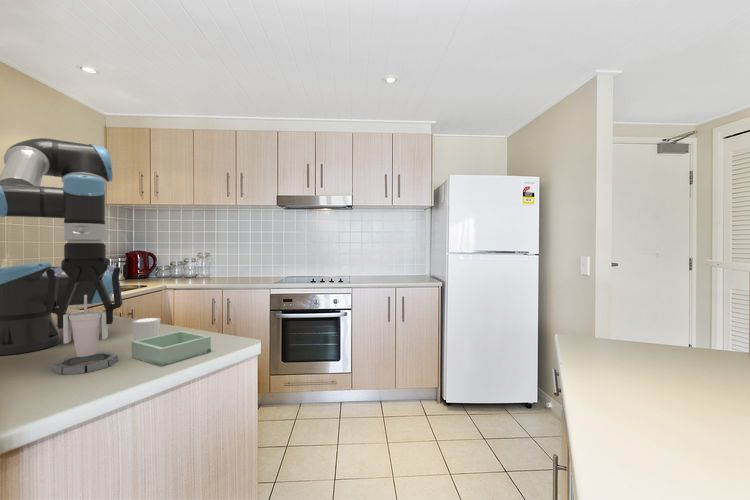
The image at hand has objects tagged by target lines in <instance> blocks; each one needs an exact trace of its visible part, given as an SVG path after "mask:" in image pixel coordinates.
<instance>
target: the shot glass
mask: <svg viewBox="0 0 750 500" xmlns="http://www.w3.org/2000/svg"><path fill="white" fill-rule="evenodd" d="M132 328H133V338H134V341H137V340H142V339H146V338H151V337H155V336H160V328H161V318H160V317H144V318H137V319H135V320H132Z"/></svg>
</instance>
